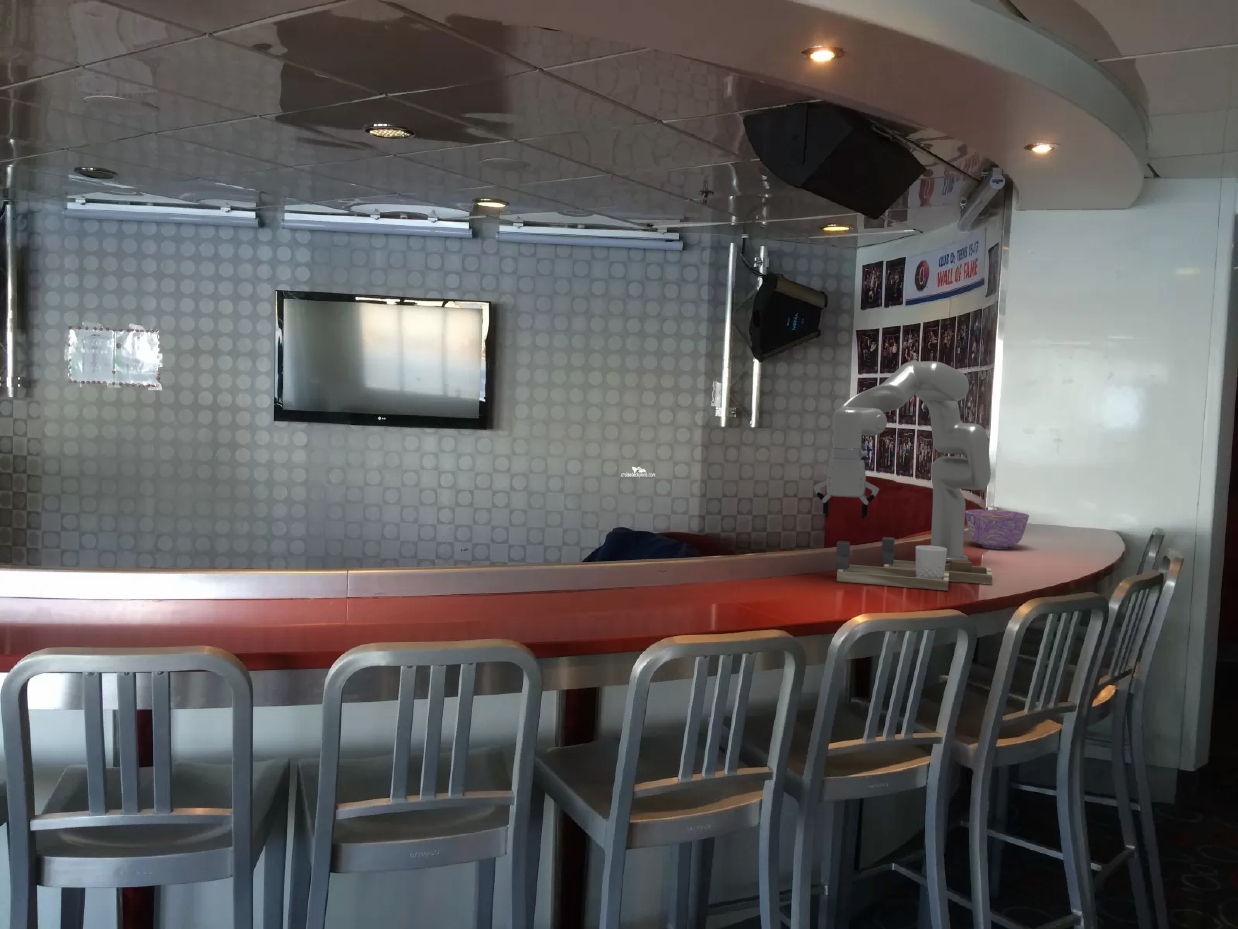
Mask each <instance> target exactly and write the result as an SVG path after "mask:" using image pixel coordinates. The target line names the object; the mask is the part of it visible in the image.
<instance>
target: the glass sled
mask: <svg viewBox="0 0 1238 929" xmlns="http://www.w3.org/2000/svg"><path fill="white" fill-rule="evenodd" d="M850 548H851V542H850V541H844V540H843V541H842V540H838V541H837V542H836V556H835V557H836V558H835V569H836V570H837V572H836V582H841V583H842V582H843V583H844V582H845V583H853V584H854V583H856V584H867V585H877V586H878V585H879V586H889V587H890V586H891V587H902V588H913V589H926V590H927V589H928V590H935V591H936V590H937V591H946V592H947V591H949V582H950V581H949V572H944V577H943V580H939V579H927V578H916V570H911V569H899V568H886V567H884V566H871V565H870V566H869V565H862V564H860V565H858V564H850Z"/></svg>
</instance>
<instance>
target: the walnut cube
mask: <svg viewBox="0 0 1238 929" xmlns="http://www.w3.org/2000/svg"><path fill="white" fill-rule="evenodd" d="M948 564H949V571H952V572H965V573H971V572H972V566H973V562H971V561H970V560H969V559H968V560H960V559H950V562H949V563H948Z"/></svg>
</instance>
